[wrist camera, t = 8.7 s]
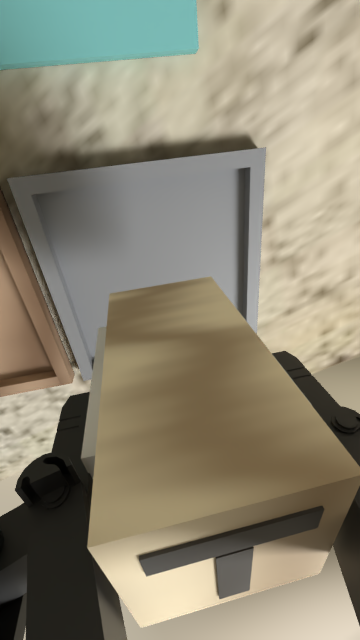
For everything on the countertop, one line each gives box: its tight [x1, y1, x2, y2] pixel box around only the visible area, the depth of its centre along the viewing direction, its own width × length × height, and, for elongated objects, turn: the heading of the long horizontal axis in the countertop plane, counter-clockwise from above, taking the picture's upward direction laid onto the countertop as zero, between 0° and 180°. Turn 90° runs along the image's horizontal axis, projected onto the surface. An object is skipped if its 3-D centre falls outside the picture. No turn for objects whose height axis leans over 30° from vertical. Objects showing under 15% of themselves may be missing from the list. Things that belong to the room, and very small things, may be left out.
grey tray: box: [7, 147, 266, 381], centre depth 21 cm, size 16×16×1 cm
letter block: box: [87, 276, 360, 628], centre depth 10 cm, size 5×5×10 cm
